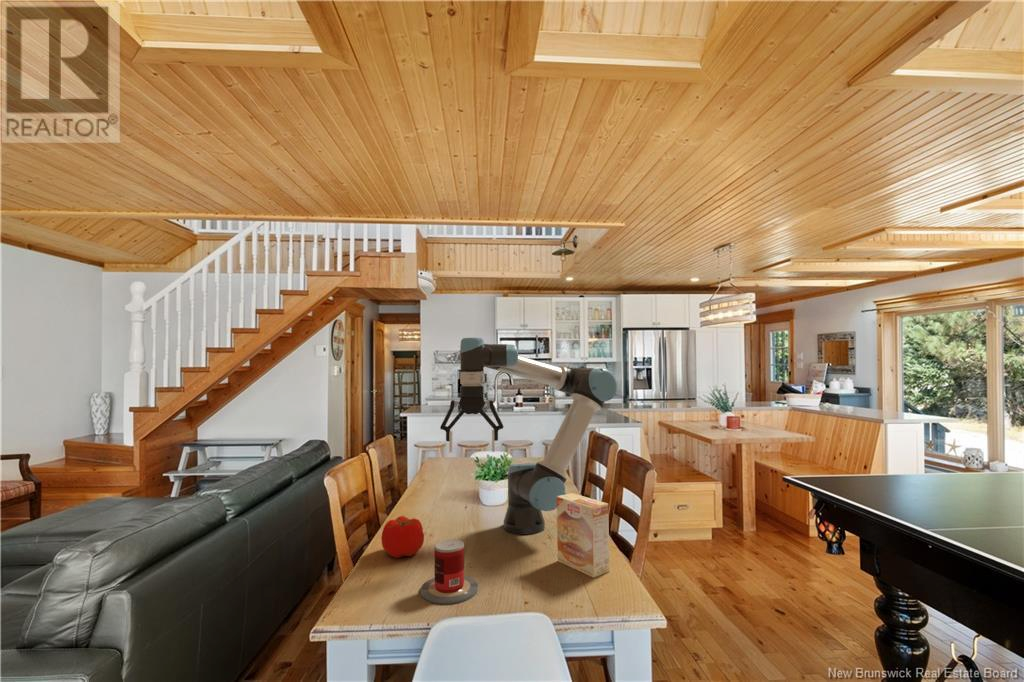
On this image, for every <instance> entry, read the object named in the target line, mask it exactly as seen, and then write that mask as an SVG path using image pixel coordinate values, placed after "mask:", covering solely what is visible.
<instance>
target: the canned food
mask: <svg viewBox="0 0 1024 682" xmlns="http://www.w3.org/2000/svg"><path fill="white" fill-rule="evenodd" d="M464 543H465V542H464V541H462V540H458V539H453V538H452V539H451V538H449V539H443V540H441V541H438V542H436V543H435V544H434V555H433V556H434V578H435V588H436V590H437V591H439V592H442V593H453V592H456V591H458V590H460V589H461V588H462V587H463V585H464V576H465V544H464Z"/></svg>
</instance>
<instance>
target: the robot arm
mask: <svg viewBox="0 0 1024 682" xmlns="http://www.w3.org/2000/svg"><path fill="white" fill-rule="evenodd" d="M459 347H460V349H459V350H460V351H459V353H460V355H459V357H460V360H459V361H460V373H459V375H460V381H459V382H460V383H459V384H461V386H460V387H459V388H460V389H459V391H460V395H459V396H460V397H459V400H453V399H452V400H451V401H450V406H449V409H448V411H447V412H446V414H445V417H444V419H443V421H442V423H441V425H440V430H443V431H445V441H446V442H448V443H449V447H448V448H449V449H448V450H449V453H453V435H454V434H453V430H451V429H452V428H453V427H454V426H455V425H456V423H457V422H458V421H459V419H461V418H462V416H463V415H464V414H466V415H478V414H480V415H481V416H482V417H483V419H484V420H485V421H486V422H487V423H488V424H489V426H490V427H491V428H492V430H491V450H492V451H491V452H493V453H494V452H495V442H497V441H499V430H503V429H504V424H503V421H502V420H501V418H500V416H499V414H498V412H497V410H496V407H495V406H494V400H493V399H489V400H485V399H484V394H485V392H484V389H485V388H484V386H483V385H484V383H485V382H484V373H485V372H484V368H486V369H490V370H491V369H492V370H494V371H499V372H503V373H505V374H510V375H513V376H516V377H519V378H523V379H527V380H529V381H530V380H531V381H533V382H536V383H541V384H543V385H547V386H550V387H551V386H552V388H553V389H554V390H555V391H559V392H561V393H564V394H567V395H569V396H571V397H572V403H571V405H570V407H569V409H568V411H567V412H566V415H565V416H564V419H563V420H562V423H561V424H560V426H559V428H558V430H557V433H555V436H554V438H553V440H552V442H551V444H550V446H549V448H548V450H547V452H546V454H545V456H544V458H543V459H542V460H540V461H537V462H521V463H514V464H510V465H509V466H508V467H507V499H508V500H507V501H508V502H507V504H508V505H507V509H506V513H505V515H504V519H503V529H504V530H505V531H506V532H508V533H512V534H517V535H530V534H531V535H532V534H538V533H540V532H542V531H544V530H545V528H546V521H545V518H544V514H543V512H551V511H554V510H557V496H560V495H565V494H567V492H566V486H565V484H566V482H567V479H568V478H567V474H566V471H567V469H568V468H569V466H570V463H571V462H572V459H573V457H574V455H575V453H576V451H577V450H578V447H579V445H580V443H581V441H582V439H583V437H584V435H585V433H586V431H587V429H588V427H589V425H590V423H591V420H592V419H593V417H594V415H595V413H596V412H598V411H601V410H602V408H603V406H604V404H605V402H608V401H611V400H612V399H613V398H614V397H615V395H616V393H617V389H618V384H617V383H618V382H617V380H616V376H614V374H613V373H612V372H611V370H608V369H607V368H602V367H568V366H564V365H559V366H556V365H552V364H549V363H547V362H546V363H545V362H542V361H539V360H535V359H533V358H530V357H529V358H528V357H526V356H523V355H519V351H518V347H517V346H516V345H515V344H508V343H506V344H505V343H504V344H503V343H502V344H501V343H500V344H499V343H493V344H491V343H490V344H488V343H485V342H484V339H483V338H482V337H463V338H462V339H461V340H460V346H459ZM485 405H487V407H488V408H489V409H490V411H491V413H492V415H493V417H494V419H495V421H496V422H497V423H496V424H497V425H496V424H495V422H494V421H493V420H492V419H491V417H490V416H489V415H488V414H487V413H486V412H485V410H484V409H483V408H484V407H485ZM457 406H459V407H460V408H461V410H460V411H459V412H458V414H457V415H456V416H455V417H454V418H453V420H452V421H451V422H450V423H449V424H448V421H449V419H450V417H451V415H452V413H453V411H454V409H456V408H457ZM447 424H448V426H447Z"/></svg>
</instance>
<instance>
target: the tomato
mask: <svg viewBox="0 0 1024 682" xmlns="http://www.w3.org/2000/svg"><path fill="white" fill-rule="evenodd" d="M423 530H424V529H423V525H422V523H421V521H420V520H419V519H417V518H414V517H413V518H410V519H409V517H406V516H404V515H401V516H398V517H396V518H395V519H390V520H388V521H387V522H386V524H385V525H384V527H383V529H382V533H381V538H380V539H381V546H382V548H383V549H384V551H385V553H386V554H387V555H389V556H390V557H393V558H394V559H395V558H396V559H400V558H402V557H412V556H413V555H415V554H416V553H417V552H418V551H420V549H421V548H422V547H423V545H424V541H425V533H424V531H423Z"/></svg>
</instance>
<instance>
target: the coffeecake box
mask: <svg viewBox="0 0 1024 682" xmlns="http://www.w3.org/2000/svg"><path fill="white" fill-rule="evenodd" d="M556 518H557V519H556V524H557V527H556V530H557V534H556V535H557V536H556V537H557V543H556V545H557V562H559V563H561V564H563V565H565V566H568V567H569V568H571V569H573V570H575V571H578V572H580V573H583V574H585V576H586V575H587V576H588V577H590V578H593V579H594V578H597V577H600V576H601V575H603V574H604V575H605V574H606V573H609V572H610V532H609V525H610V524H609V522H610V521H609V519H610V518H609V503H607V502H605V501H604V502H603V501H601V500H598V499H593V498H591V497H588V496H583V495H581V494H577V493H574V492H571V493H570V492H569V493H566V494H565V495H560V496H557V508H556Z"/></svg>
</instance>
